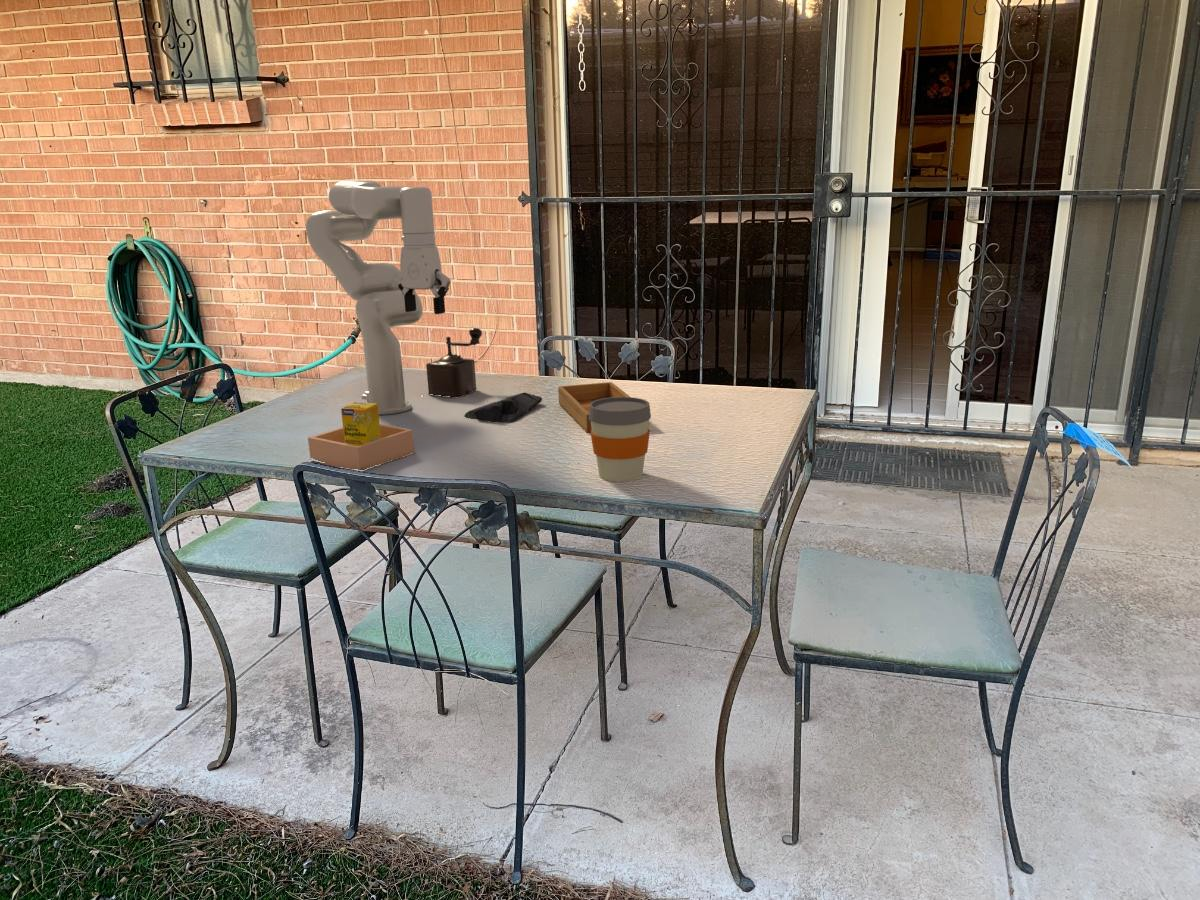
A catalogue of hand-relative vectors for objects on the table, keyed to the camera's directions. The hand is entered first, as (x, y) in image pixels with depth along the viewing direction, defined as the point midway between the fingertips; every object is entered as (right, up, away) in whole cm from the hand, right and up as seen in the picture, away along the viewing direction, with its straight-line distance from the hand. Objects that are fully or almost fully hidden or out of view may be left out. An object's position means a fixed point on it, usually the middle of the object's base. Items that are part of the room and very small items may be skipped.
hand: (425, 312), depth 214 cm
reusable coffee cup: (+47, -39, -34) cm, 70 cm away
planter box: (-10, -35, -18) cm, 41 cm away
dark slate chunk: (+18, -24, +19) cm, 36 cm away
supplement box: (-10, -34, -18) cm, 40 cm away
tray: (+43, -25, +12) cm, 51 cm away
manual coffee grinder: (+1, -17, +44) cm, 47 cm away
